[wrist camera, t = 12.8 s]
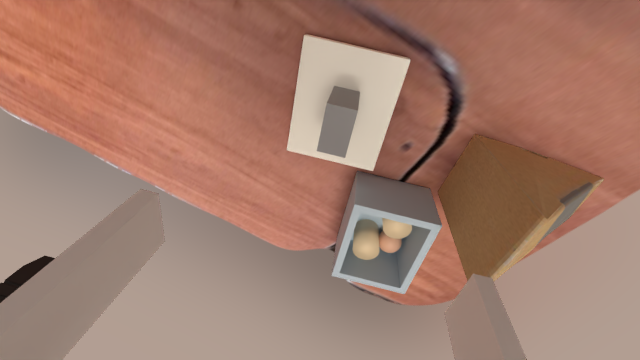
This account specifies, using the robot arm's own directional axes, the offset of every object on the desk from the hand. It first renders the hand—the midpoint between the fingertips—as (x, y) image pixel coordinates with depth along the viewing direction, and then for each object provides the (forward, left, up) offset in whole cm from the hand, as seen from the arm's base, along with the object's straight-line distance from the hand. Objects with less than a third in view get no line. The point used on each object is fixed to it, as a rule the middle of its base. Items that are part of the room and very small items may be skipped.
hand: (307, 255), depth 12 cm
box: (+13, +8, -23) cm, 27 cm away
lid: (0, 0, -22) cm, 22 cm away
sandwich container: (+5, +21, -23) cm, 32 cm away
